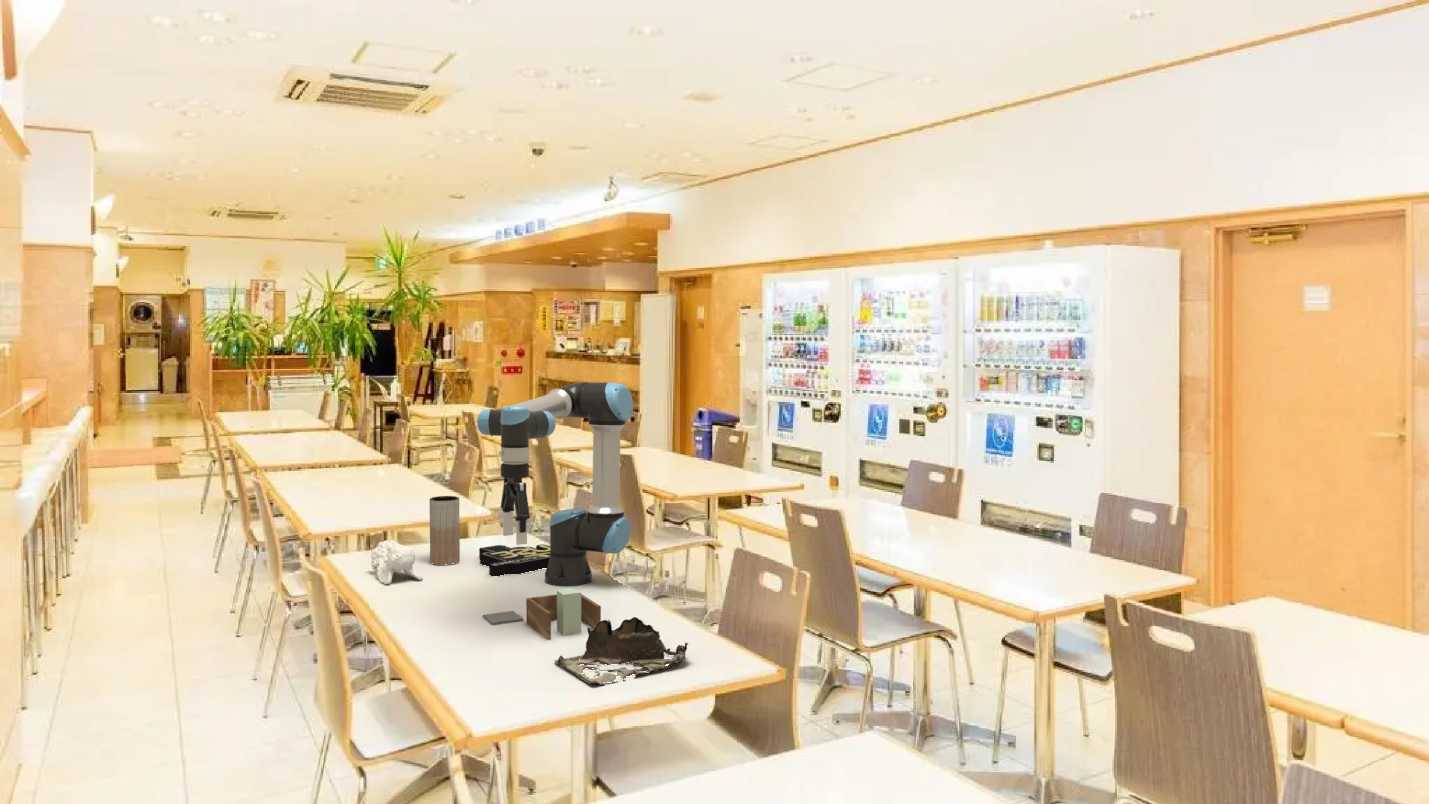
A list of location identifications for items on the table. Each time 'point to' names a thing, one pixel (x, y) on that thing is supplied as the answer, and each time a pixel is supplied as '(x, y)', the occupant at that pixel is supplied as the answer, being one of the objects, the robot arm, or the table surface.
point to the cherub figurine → (393, 560)
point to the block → (568, 611)
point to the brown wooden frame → (545, 611)
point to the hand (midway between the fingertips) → (514, 539)
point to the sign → (514, 559)
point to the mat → (503, 617)
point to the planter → (444, 530)
